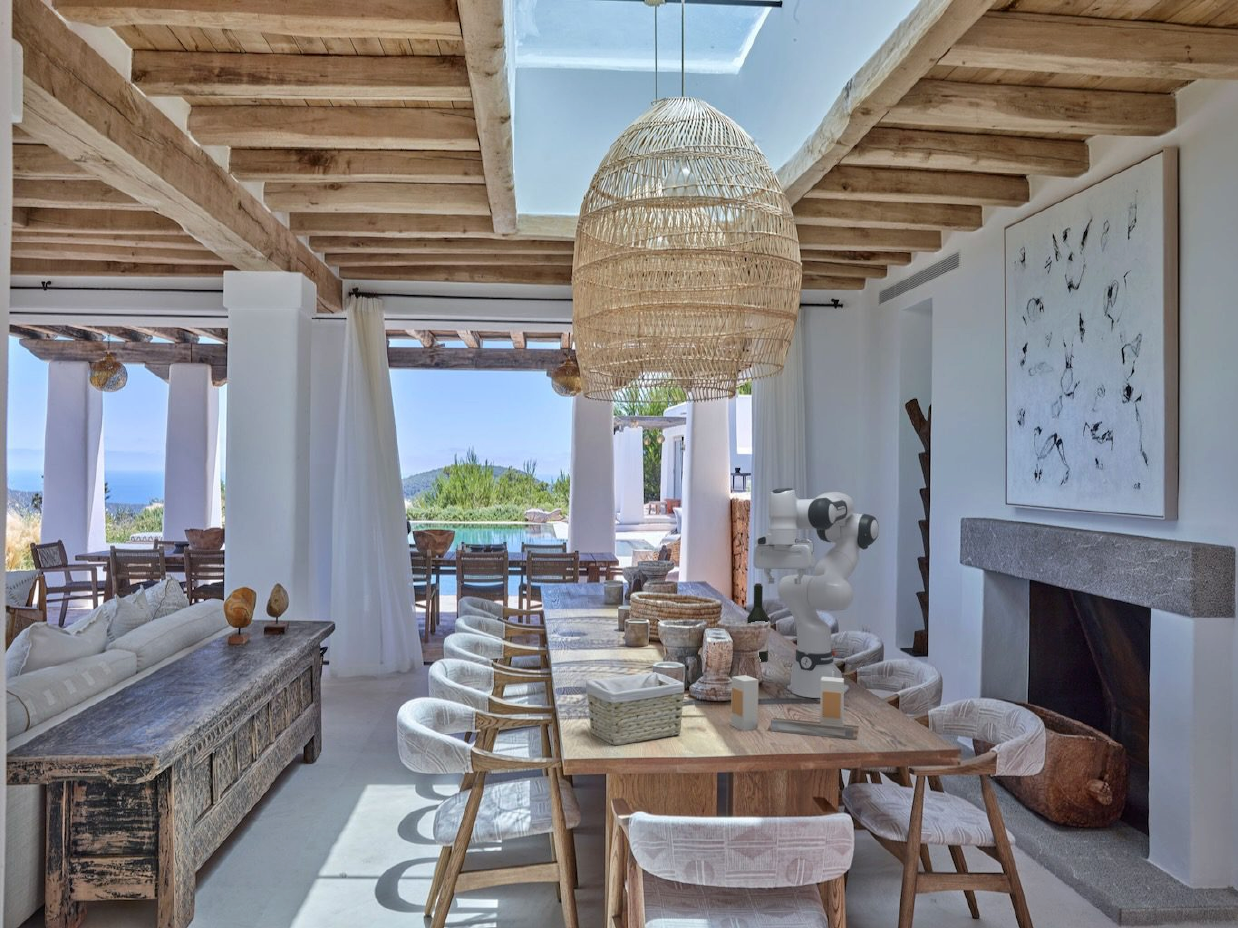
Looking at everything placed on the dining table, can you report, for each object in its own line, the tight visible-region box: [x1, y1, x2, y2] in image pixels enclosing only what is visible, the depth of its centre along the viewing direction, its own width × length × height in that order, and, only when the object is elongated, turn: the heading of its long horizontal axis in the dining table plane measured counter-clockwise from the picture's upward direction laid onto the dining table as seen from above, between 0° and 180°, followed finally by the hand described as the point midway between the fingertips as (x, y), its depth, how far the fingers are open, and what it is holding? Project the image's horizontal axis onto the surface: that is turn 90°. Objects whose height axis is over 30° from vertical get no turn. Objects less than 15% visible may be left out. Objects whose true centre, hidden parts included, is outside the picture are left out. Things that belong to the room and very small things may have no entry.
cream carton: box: [730, 674, 759, 732], centre depth 249 cm, size 5×6×14 cm
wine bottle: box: [746, 583, 769, 663], centre depth 342 cm, size 8×8×30 cm
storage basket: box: [585, 671, 685, 746], centre depth 241 cm, size 24×16×15 cm
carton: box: [819, 677, 845, 726], centre depth 243 cm, size 5×6×14 cm
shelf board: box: [766, 717, 860, 741], centre depth 244 cm, size 14×24×4 cm, turn 72°
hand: (784, 583), depth 272 cm, fingers open, 8 cm apart
